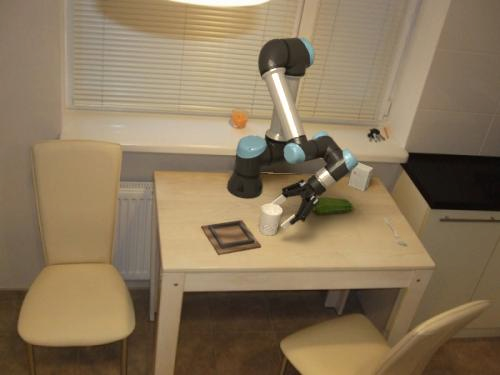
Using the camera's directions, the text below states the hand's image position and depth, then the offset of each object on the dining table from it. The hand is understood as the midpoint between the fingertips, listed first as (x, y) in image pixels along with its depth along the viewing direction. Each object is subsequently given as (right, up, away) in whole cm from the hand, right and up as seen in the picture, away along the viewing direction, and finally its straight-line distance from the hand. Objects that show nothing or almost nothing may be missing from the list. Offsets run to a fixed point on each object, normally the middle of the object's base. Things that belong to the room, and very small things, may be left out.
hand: (276, 217), depth 205 cm
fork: (+48, -6, +18) cm, 52 cm away
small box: (+40, +11, +45) cm, 61 cm away
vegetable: (+24, +1, +23) cm, 33 cm away
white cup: (-3, -6, +4) cm, 8 cm away
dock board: (-17, -7, -3) cm, 19 cm away
